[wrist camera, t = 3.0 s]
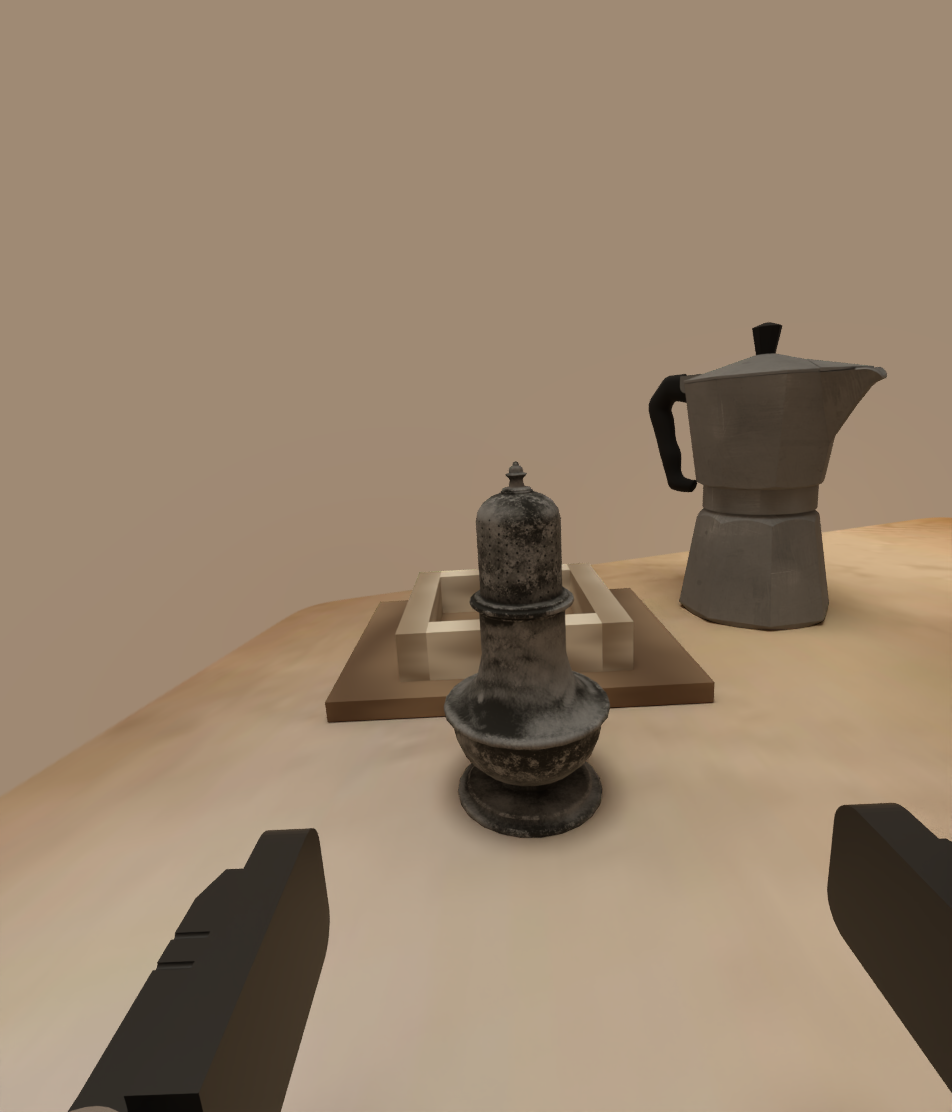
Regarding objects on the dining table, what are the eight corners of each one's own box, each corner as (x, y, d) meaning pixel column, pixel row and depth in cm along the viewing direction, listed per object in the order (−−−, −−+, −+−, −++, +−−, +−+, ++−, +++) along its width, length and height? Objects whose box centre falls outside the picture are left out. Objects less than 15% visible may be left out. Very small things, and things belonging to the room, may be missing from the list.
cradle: (629, 601, 41) (630, 554, 40) (713, 702, 26) (716, 631, 25) (381, 615, 41) (376, 568, 40) (327, 721, 27) (318, 652, 26)
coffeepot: (896, 615, 35) (933, 304, 31) (813, 655, 31) (844, 294, 26) (687, 569, 48) (694, 345, 44) (606, 592, 43) (605, 343, 39)
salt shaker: (587, 737, 24) (583, 451, 21) (633, 835, 18) (635, 461, 16) (449, 749, 24) (426, 461, 21) (452, 852, 18) (421, 475, 15)
